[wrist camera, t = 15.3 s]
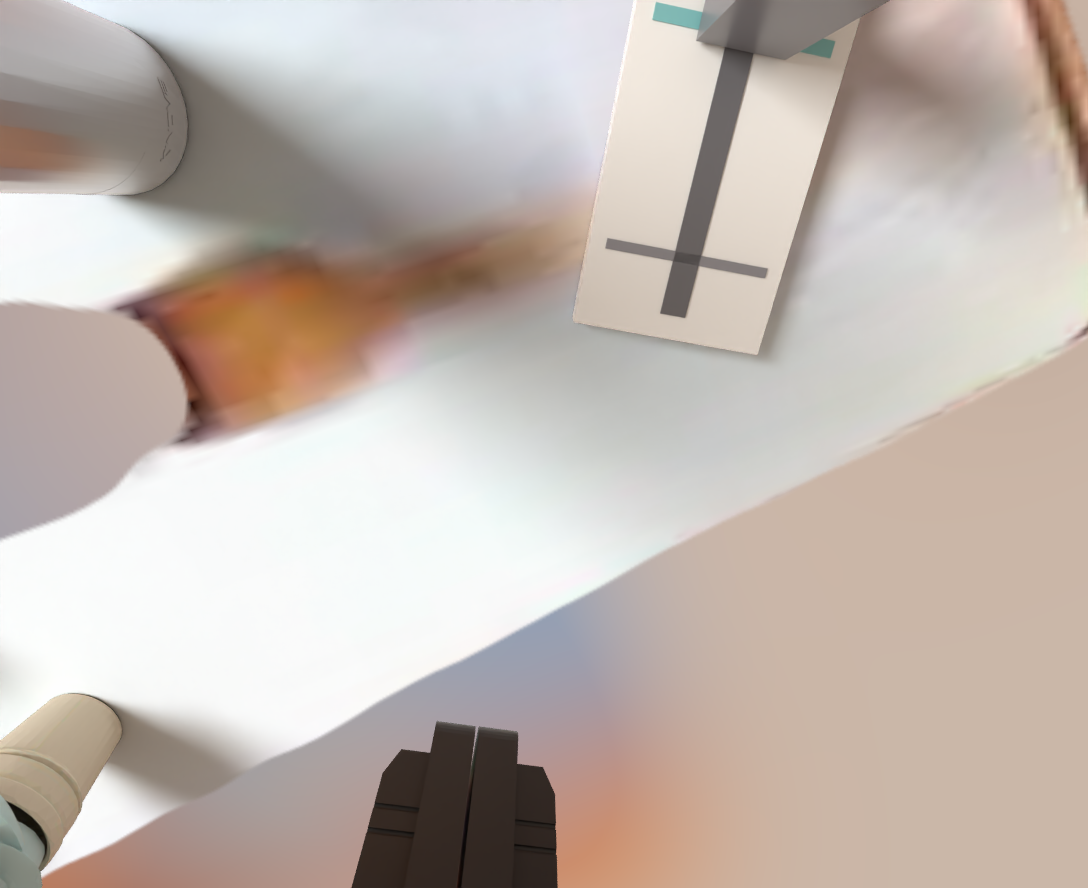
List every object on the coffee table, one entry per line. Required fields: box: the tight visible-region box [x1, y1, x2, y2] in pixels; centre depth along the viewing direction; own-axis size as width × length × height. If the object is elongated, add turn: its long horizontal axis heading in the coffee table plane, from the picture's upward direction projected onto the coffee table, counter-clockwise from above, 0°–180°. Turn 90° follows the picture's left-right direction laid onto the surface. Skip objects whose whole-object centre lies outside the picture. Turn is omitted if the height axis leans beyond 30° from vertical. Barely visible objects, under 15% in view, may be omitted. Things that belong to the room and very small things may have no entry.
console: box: [572, 0, 861, 355], centre depth 36 cm, size 12×26×2 cm, turn 170°
